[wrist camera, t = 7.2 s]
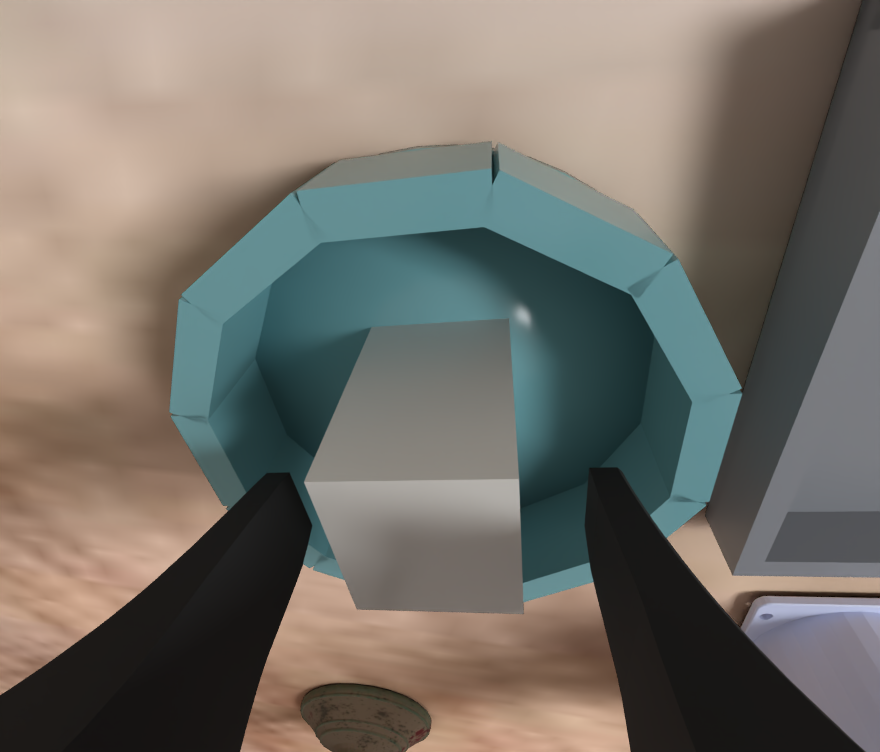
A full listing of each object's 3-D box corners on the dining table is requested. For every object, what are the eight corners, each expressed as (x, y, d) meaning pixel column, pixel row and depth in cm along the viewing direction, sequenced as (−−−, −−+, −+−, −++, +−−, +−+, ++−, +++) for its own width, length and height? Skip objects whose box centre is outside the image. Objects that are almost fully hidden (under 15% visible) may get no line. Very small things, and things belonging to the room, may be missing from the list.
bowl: (646, 517, 18) (676, 607, 15) (308, 518, 20) (277, 597, 17) (728, 107, 10) (822, 130, 7) (158, 178, 12) (53, 218, 9)
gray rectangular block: (513, 437, 16) (524, 614, 11) (398, 440, 16) (356, 609, 11) (508, 318, 13) (519, 478, 8) (371, 327, 14) (304, 482, 9)
